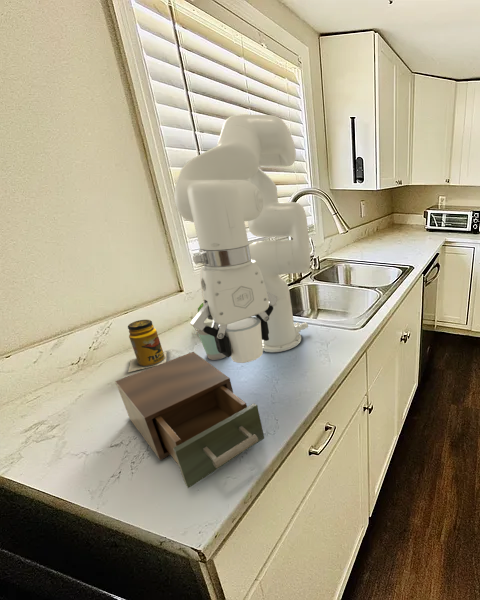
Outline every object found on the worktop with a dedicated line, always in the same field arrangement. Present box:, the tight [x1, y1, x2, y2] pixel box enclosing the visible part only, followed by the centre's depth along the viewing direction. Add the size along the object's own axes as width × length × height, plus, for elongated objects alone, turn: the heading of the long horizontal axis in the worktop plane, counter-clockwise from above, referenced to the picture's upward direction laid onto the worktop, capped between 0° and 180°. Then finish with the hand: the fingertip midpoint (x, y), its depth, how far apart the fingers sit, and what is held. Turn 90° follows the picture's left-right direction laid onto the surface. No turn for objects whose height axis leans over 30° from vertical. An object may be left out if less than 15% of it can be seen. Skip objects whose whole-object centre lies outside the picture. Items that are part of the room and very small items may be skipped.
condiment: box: [127, 319, 167, 373], centre depth 89 cm, size 7×8×12 cm
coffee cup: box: [193, 318, 227, 361], centre depth 93 cm, size 8×8×12 cm
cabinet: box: [114, 351, 234, 461], centre depth 68 cm, size 18×15×10 cm
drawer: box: [152, 385, 265, 489], centre depth 60 cm, size 22×14×8 cm, turn 52°
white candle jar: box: [225, 316, 264, 364], centre depth 63 cm, size 7×7×7 cm
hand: (245, 345), depth 63 cm, fingers closed on white candle jar, 6 cm apart
